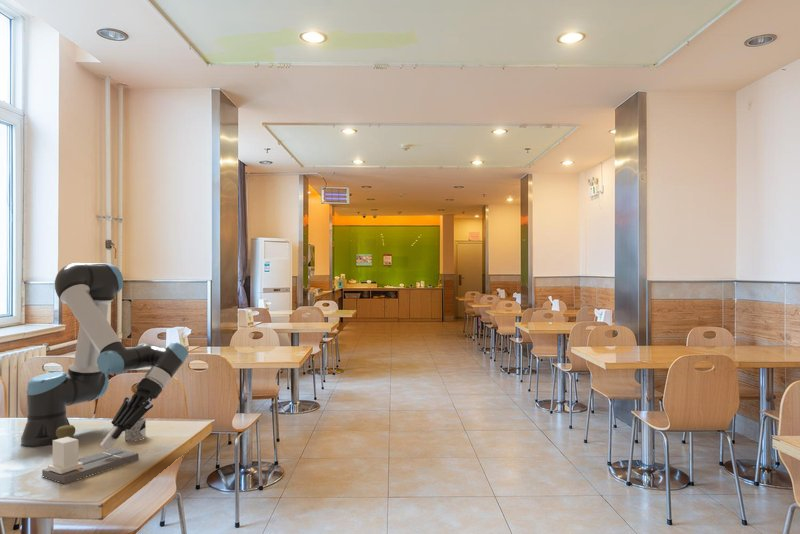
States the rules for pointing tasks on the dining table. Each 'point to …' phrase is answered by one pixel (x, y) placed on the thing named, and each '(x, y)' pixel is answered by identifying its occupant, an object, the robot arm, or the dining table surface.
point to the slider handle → (65, 455)
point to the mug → (136, 431)
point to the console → (94, 464)
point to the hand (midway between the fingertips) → (104, 447)
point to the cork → (65, 431)
